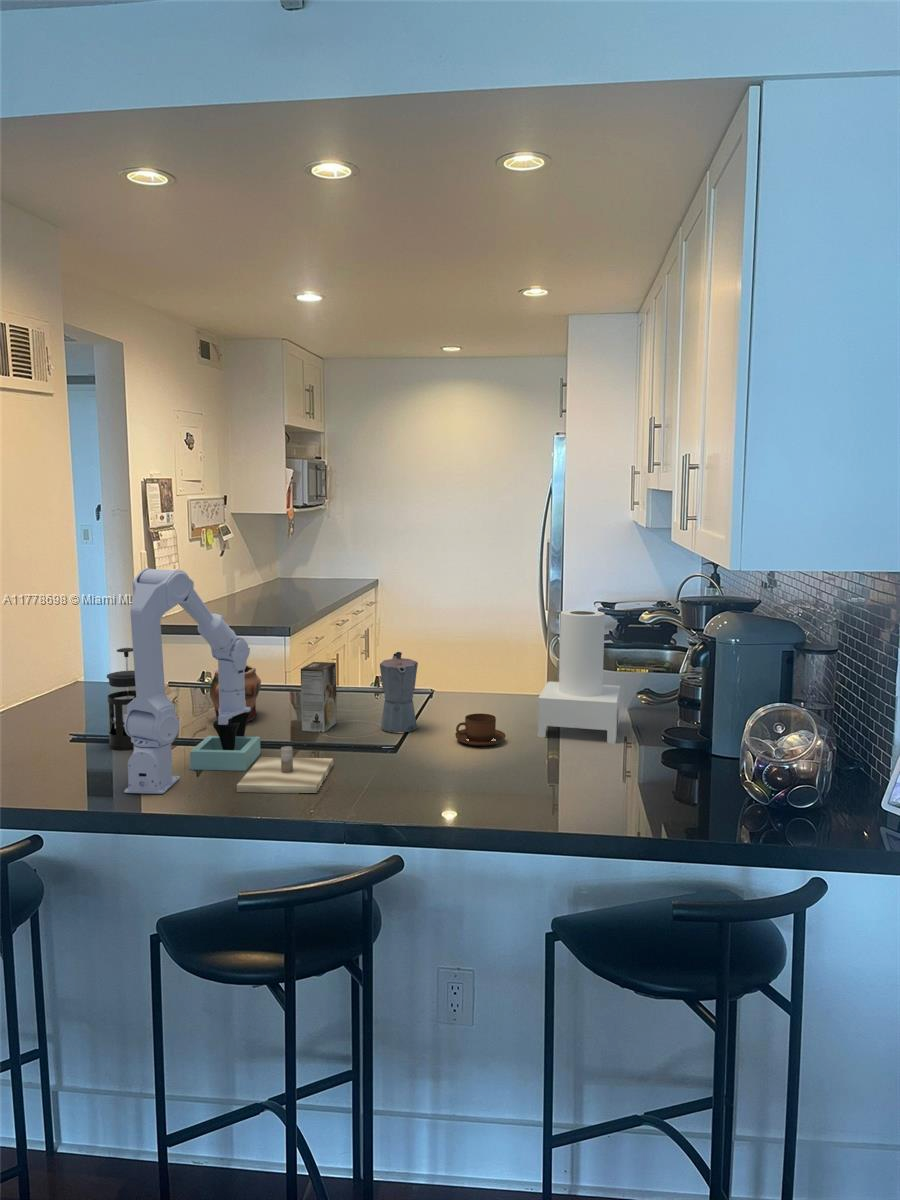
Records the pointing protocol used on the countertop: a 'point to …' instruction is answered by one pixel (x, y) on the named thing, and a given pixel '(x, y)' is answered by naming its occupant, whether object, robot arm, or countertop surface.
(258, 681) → the decorative planter
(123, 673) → the french press
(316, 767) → the post board
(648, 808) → the countertop surface
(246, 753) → the square loop
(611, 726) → the paper towel holder
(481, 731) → the cup and saucer
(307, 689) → the coffee box
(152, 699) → the robot arm
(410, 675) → the moka pot
